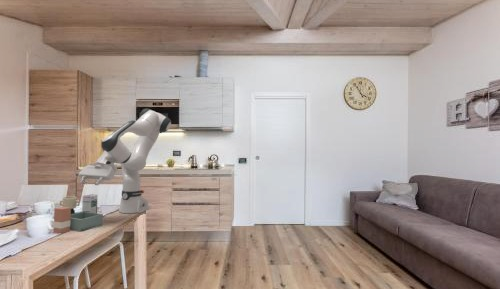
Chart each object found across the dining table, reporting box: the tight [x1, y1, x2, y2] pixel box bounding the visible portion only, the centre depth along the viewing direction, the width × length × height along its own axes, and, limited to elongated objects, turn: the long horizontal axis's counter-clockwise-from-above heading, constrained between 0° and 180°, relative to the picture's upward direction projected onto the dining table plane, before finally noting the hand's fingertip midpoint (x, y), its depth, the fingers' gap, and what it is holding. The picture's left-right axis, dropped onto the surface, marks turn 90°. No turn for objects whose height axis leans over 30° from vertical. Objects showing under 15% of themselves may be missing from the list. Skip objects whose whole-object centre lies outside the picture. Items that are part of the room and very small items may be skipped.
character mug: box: [59, 196, 81, 214], centre depth 169 cm, size 11×7×13 cm, turn 98°
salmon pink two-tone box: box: [52, 206, 71, 234], centre depth 145 cm, size 5×5×12 cm
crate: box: [70, 211, 104, 232], centre depth 156 cm, size 14×14×6 cm
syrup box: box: [81, 193, 99, 213], centre depth 172 cm, size 6×6×14 cm
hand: (88, 183), depth 158 cm, fingers open, 8 cm apart
